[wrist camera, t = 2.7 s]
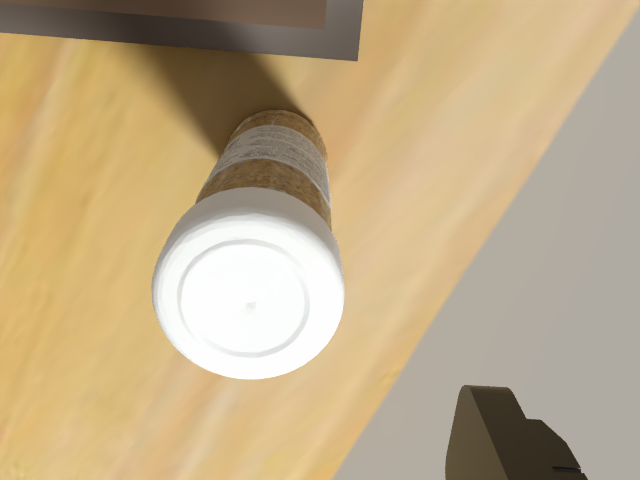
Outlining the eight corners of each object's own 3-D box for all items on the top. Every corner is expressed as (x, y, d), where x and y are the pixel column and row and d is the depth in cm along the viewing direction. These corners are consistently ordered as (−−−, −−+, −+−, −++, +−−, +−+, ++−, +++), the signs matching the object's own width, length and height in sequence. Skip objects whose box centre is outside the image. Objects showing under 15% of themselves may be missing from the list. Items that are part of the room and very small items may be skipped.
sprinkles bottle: (279, 225, 27) (253, 418, 15) (204, 158, 26) (105, 307, 13) (349, 156, 26) (387, 302, 13) (274, 82, 25) (238, 168, 12)
